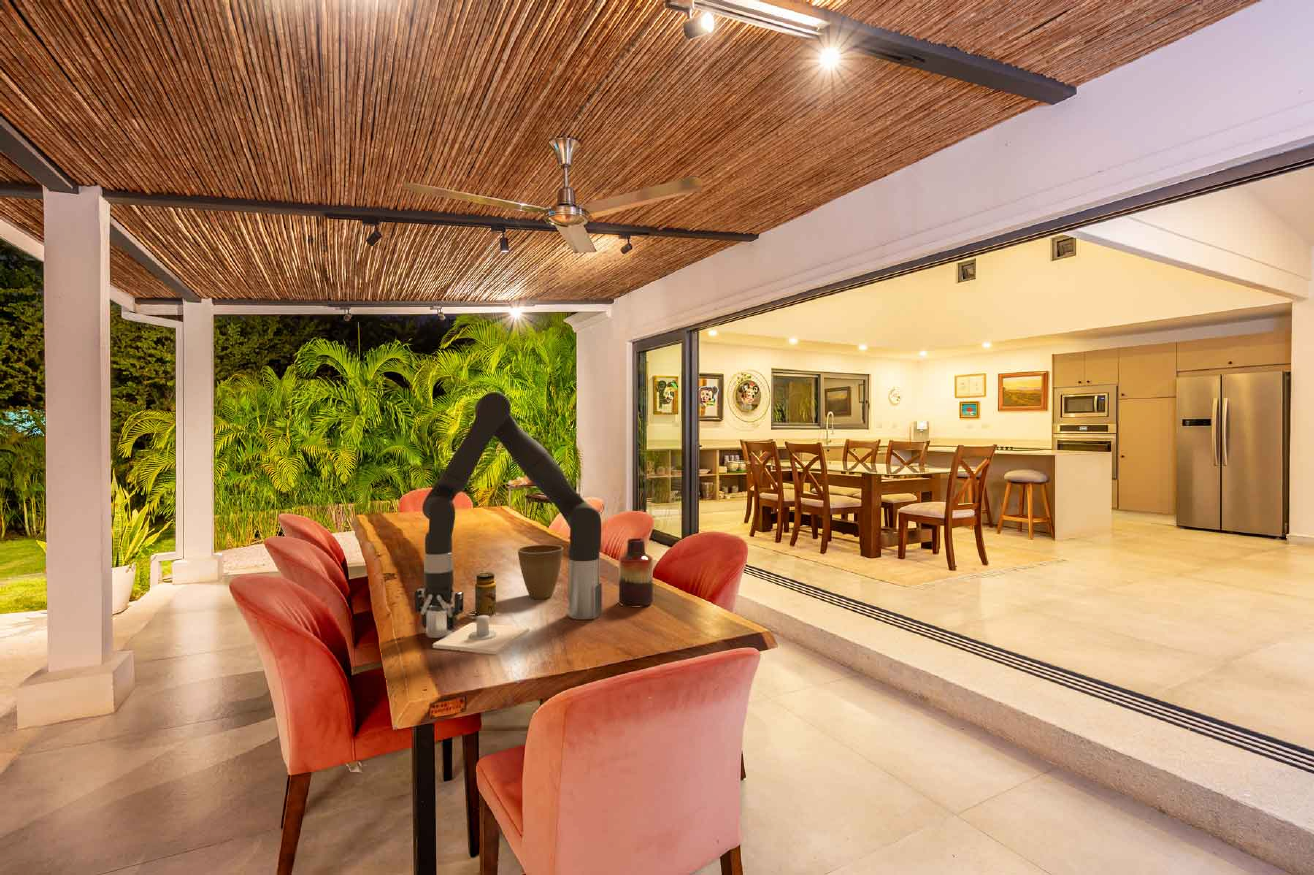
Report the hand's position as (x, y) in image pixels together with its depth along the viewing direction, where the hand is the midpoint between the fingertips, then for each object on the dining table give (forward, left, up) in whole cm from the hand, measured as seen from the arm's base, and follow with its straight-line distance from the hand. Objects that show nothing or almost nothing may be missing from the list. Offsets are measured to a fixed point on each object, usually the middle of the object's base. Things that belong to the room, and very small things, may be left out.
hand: (439, 628), depth 172 cm
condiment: (-2, -19, -2) cm, 19 cm away
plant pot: (-10, -42, -2) cm, 43 cm away
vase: (-43, -43, -2) cm, 61 cm away
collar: (0, 0, -1) cm, 1 cm away
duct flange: (-14, +1, -1) cm, 14 cm away
